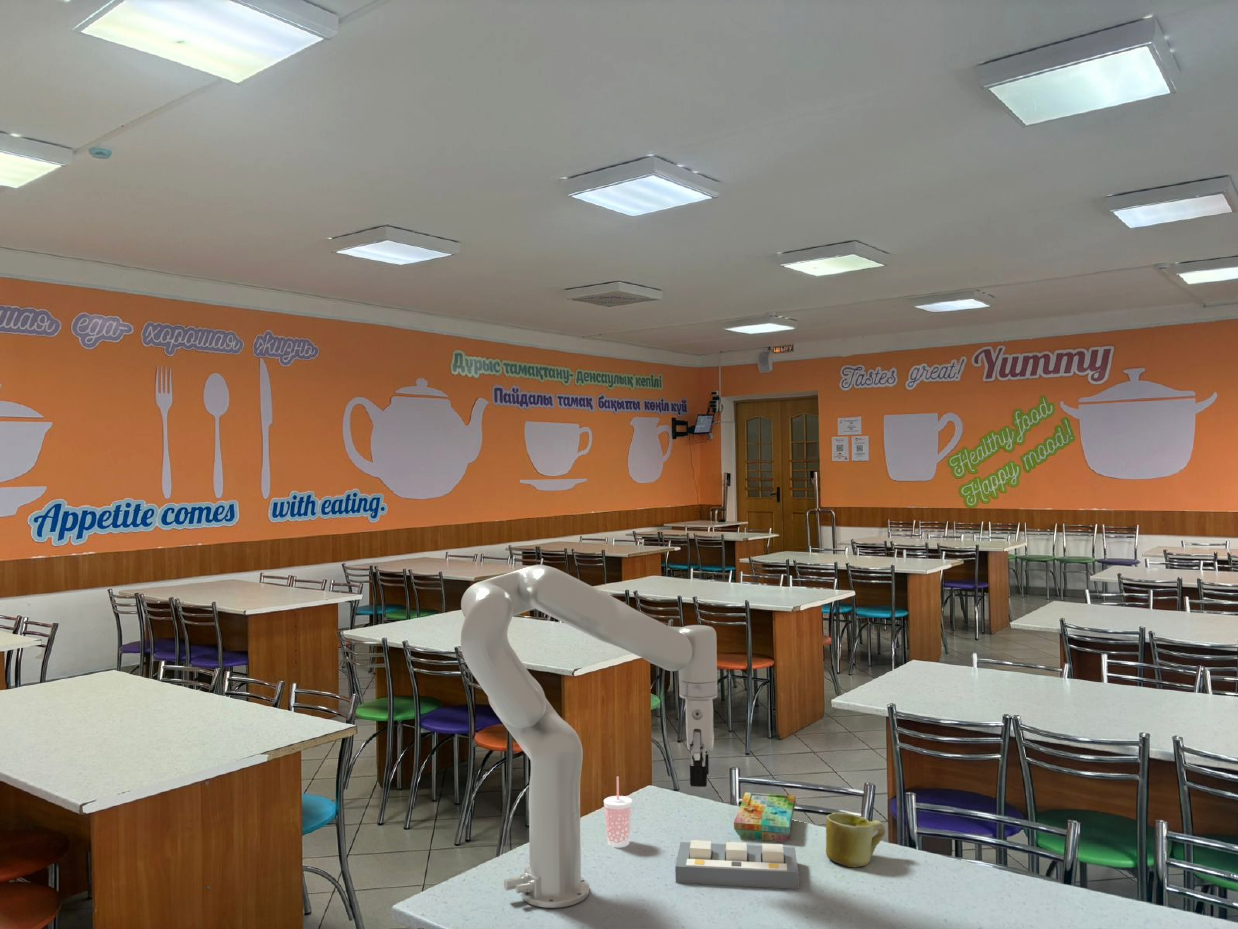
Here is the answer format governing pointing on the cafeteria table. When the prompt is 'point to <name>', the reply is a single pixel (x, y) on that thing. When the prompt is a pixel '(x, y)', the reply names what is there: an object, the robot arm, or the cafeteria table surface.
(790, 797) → the puzzle game
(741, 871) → the button board
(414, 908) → the cafeteria table surface
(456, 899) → the cafeteria table surface
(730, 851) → the button middle
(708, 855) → the button left
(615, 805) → the beverage cup
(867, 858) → the mug
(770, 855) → the button right
